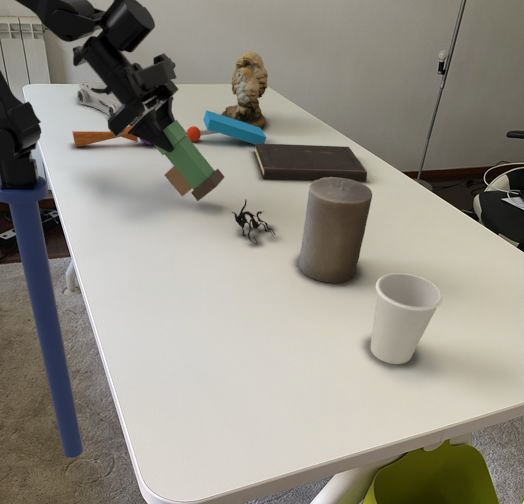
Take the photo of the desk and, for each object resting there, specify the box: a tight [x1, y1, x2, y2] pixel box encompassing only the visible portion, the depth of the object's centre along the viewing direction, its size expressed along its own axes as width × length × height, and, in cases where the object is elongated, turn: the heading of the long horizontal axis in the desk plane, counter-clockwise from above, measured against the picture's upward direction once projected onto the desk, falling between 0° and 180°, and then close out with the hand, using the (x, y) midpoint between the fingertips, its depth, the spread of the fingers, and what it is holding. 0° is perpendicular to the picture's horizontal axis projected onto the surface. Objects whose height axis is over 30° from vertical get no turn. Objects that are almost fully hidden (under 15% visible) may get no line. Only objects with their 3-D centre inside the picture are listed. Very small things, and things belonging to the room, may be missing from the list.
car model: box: [76, 81, 122, 118], centre depth 147 cm, size 11×24×5 cm, turn 42°
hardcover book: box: [253, 142, 368, 182], centre depth 125 cm, size 16×23×2 cm
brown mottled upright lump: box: [221, 50, 269, 130], centre depth 143 cm, size 18×12×17 cm, turn 9°
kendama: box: [71, 125, 152, 148], centre depth 125 cm, size 6×6×20 cm
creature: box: [231, 198, 276, 245], centre depth 97 cm, size 8×5×8 cm
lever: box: [186, 109, 267, 145], centre depth 134 cm, size 7×7×18 cm
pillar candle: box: [298, 177, 373, 284], centre depth 87 cm, size 10×10×15 cm
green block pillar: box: [154, 119, 225, 202], centre depth 101 cm, size 12×5×12 cm, turn 76°
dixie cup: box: [370, 272, 444, 365], centre depth 72 cm, size 8×8×10 cm
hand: (177, 146), depth 99 cm, fingers closed on green block pillar, 4 cm apart
